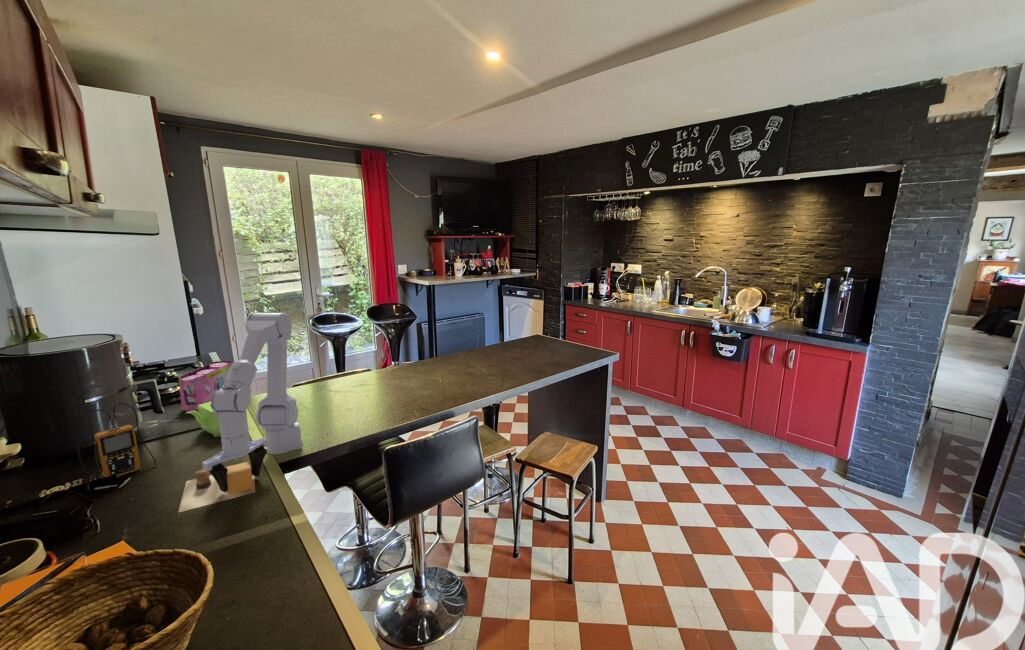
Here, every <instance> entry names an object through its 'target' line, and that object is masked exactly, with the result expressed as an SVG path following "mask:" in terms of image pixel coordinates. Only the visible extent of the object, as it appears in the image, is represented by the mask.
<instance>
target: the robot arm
mask: <svg viewBox="0 0 1025 650" xmlns="http://www.w3.org/2000/svg"><path fill="white" fill-rule="evenodd" d="M245 330H246V333H247V335H246V339H245V340H244V345H243V348H242V351H241V354H240V357H239V360H237V361H234V363H233V364H232V366H231V368H230V370H229V373H228V375H227V377H226V379H225V382H224V384H223V386H222V389H219V390H218V391H216V392H215V393H214V394H213V396H212V400H211V404H210V406H211V409H212V410H213V411H214V412H215V415H216V418H217V419H219V425H220V433H221V436H220V439H221V448H222V449H221V450H222V451H220V452H218V453H216V454H215V455H214V456H212V457H210V458H208V459H206V460H204V461H202V469H204V470H205V471H209V475H212V476H213V477H214V478H215V480H216V481H217V483H218V485H219V488H220V490H221V491H223V492H227V491H228V484H227V472H228V469H227V468H226V467H225V465H223V464H225V463H228V462H230V461H233V460H236V459H238V458H241V457H244V456H246V455H248V458H249V461H251V469H252V475H254V476H255V477H256V478H258V477H260V473H261V469H262V465H263V462H264V459H265V457H266V455H267V454H269V455H281V454H285V453H287V452H291V451H295V450H299V449H300V450H301V449H303V448H302V447H303V446H302V445H303V440H302V433H301V431H302V430H301V424H300V422H299V421H298V418H299V410H298V407H297V406H298V405H297V399H295V398H294V397H293V396H291V395H290V394H288V393H287V391H288V390H287V386H288V385H287V384H288V380H287V379H288V376H287V375H288V367H287V366H288V341H289V340H291V339H292V319H291V318H290V316H289V314H288V313H286V312H256V311H253V312H252V311H251V312H250V313H249V314H248V316H247V317H246V320H245ZM265 344H267V371H266V372H267V373H266V374H267V377H266V379H267V380H266V383H267V386H266V388H267V389H266V396H265V397H264V398H263V399H261V400H260V401H259V402H258V408H257V411H256V416H255V418H256V420H255V421H256V422H257V424H258V425H259V426H261V428H262V430H264V433H265V437H262V438H259V439H255V440H252V441H250V434H249V433H250V432H249V425H248V414H247V410H248V408H249V405H250V404H251V401H252V400H251V399H252V398H251V397H252V396H251V394H252V388H251V386H252V383H253V381H254V380H255V379H254V378H255V377H256V373H257V371H258V368H257V365H256V362H257V360H258V358H259V356H260V354H261V352H262V351H263V349H264V346H265Z"/></svg>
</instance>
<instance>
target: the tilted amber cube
mask: <svg viewBox="0 0 1025 650" xmlns="http://www.w3.org/2000/svg"><path fill="white" fill-rule="evenodd" d="M225 468H227V469H228V472H227V484H228V494H232V493H236V492H239V491H243V490H247V489H251V488H253V479H252V469H251V461H250V460H249V461H246V462H241V463H238V464H232V465H228V466H226V467H225Z"/></svg>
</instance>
